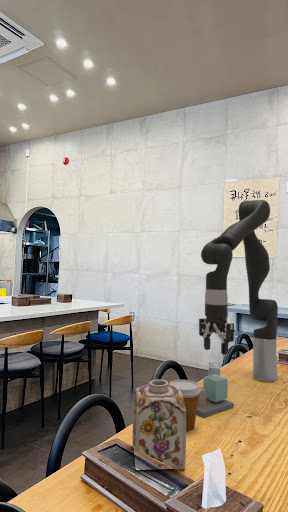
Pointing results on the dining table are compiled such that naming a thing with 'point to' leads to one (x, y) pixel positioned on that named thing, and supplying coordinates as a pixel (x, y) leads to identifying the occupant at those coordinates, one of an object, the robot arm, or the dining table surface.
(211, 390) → the sage green cube
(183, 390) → the disposable coffee cup
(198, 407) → the post stand
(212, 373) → the medicine box
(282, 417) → the dining table surface
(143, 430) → the decorative jar
